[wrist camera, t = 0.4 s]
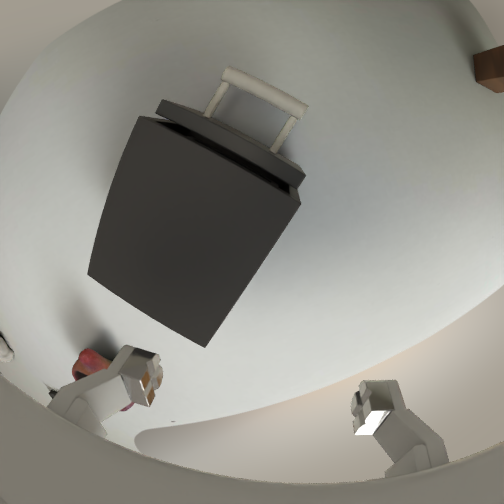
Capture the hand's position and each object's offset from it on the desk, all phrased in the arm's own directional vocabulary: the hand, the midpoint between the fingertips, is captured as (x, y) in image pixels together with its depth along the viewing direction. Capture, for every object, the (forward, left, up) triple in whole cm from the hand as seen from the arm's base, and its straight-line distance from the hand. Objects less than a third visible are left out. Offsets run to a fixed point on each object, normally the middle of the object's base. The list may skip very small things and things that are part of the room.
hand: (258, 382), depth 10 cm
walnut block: (-23, +25, -21) cm, 40 cm away
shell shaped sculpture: (+39, -78, -21) cm, 89 cm away
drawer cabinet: (-1, -8, -21) cm, 22 cm away
